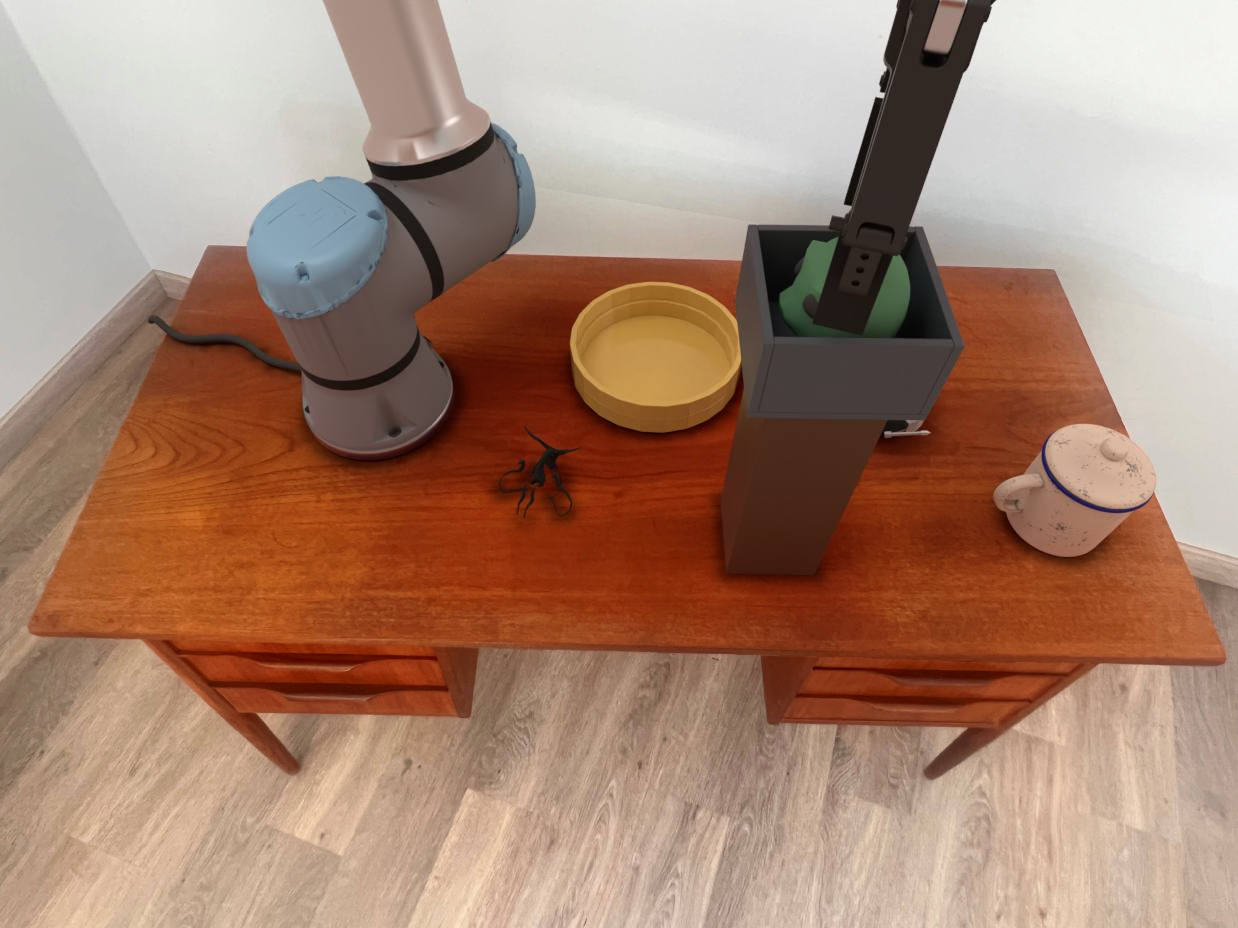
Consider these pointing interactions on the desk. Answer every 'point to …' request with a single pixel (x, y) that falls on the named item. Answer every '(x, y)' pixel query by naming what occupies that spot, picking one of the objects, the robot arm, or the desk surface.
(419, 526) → the desk surface
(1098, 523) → the teacup with lid
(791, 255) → the bin
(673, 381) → the bowl
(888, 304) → the alien toy
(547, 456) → the creature
